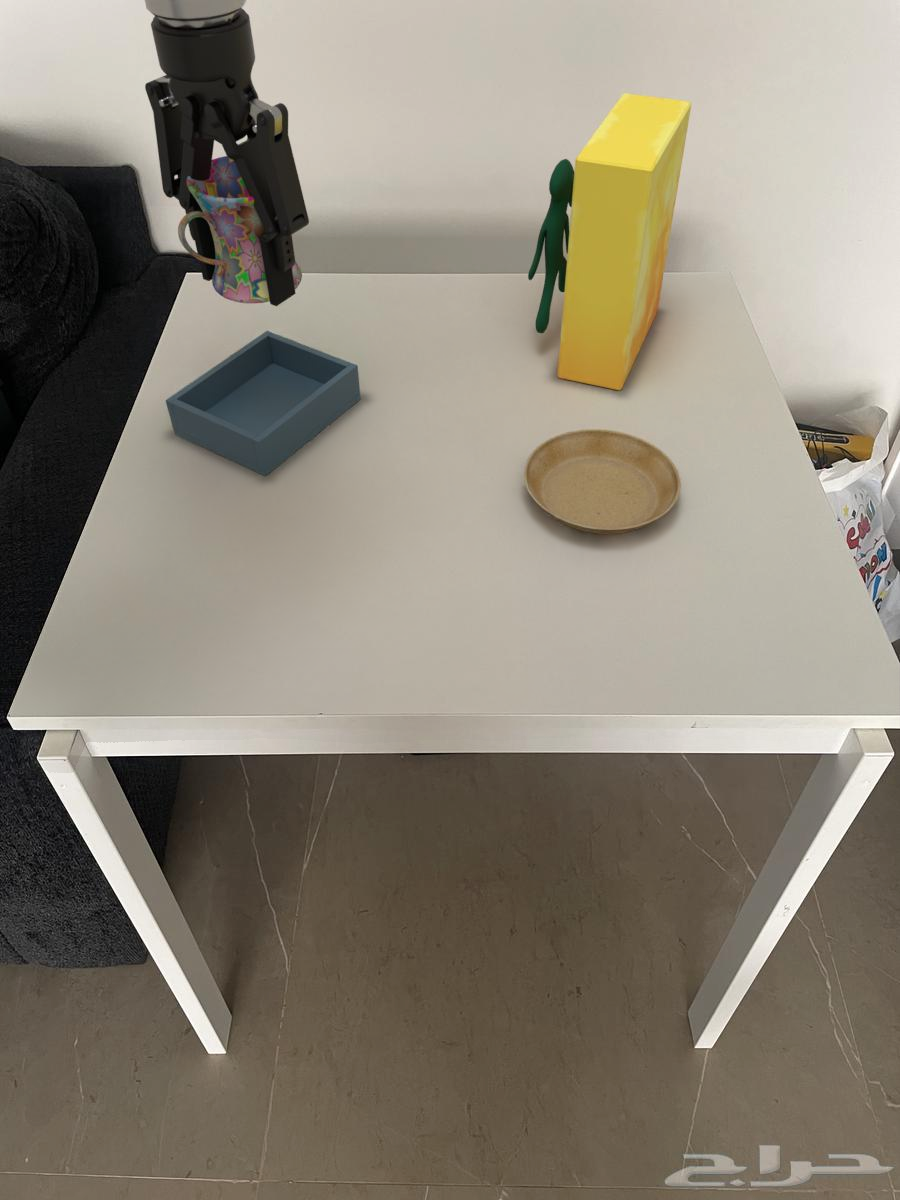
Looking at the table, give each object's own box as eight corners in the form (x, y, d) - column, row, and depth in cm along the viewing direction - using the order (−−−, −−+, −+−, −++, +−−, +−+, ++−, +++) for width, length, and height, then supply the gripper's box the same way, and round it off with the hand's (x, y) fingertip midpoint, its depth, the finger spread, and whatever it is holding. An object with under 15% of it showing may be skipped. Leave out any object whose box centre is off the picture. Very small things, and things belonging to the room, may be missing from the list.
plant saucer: (634, 437, 98) (638, 416, 96) (704, 528, 88) (709, 507, 86) (500, 466, 95) (501, 446, 93) (558, 565, 85) (560, 544, 83)
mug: (262, 253, 95) (245, 144, 87) (327, 284, 91) (315, 172, 83) (166, 301, 89) (138, 188, 81) (231, 336, 85) (208, 221, 77)
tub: (174, 434, 99) (165, 400, 96) (272, 363, 108) (267, 330, 104) (265, 476, 94) (258, 442, 91) (360, 399, 103) (357, 365, 100)
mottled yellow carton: (558, 294, 117) (575, 86, 100) (657, 312, 114) (692, 100, 97) (513, 369, 106) (522, 150, 89) (620, 391, 103) (652, 168, 86)
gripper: (334, 21, 71) (359, 299, 87) (140, -21, 79) (197, 242, 95) (267, 50, 66) (307, 336, 83) (69, 3, 74) (142, 273, 91)
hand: (248, 286), depth 89 cm, fingers closed on mug, 8 cm apart
